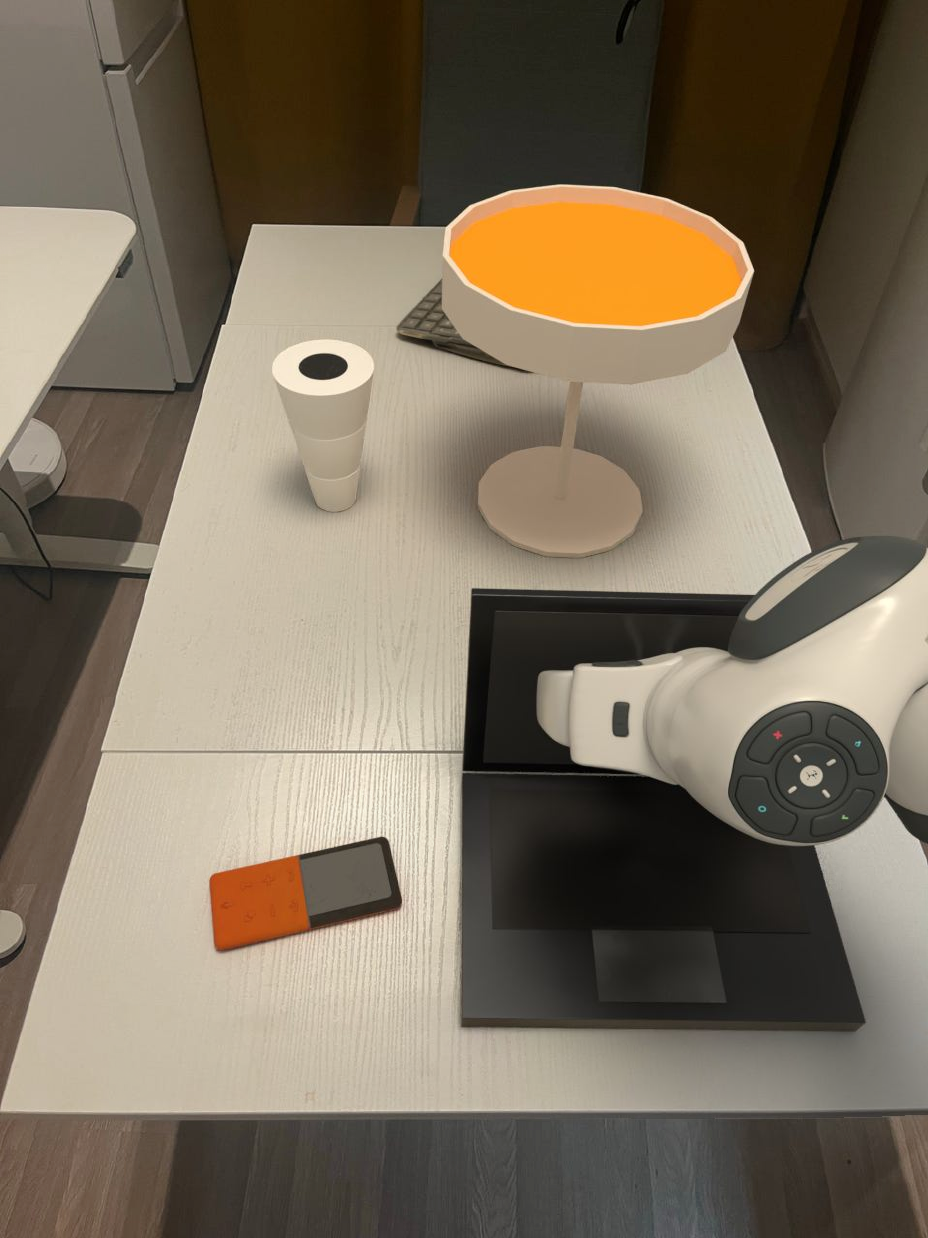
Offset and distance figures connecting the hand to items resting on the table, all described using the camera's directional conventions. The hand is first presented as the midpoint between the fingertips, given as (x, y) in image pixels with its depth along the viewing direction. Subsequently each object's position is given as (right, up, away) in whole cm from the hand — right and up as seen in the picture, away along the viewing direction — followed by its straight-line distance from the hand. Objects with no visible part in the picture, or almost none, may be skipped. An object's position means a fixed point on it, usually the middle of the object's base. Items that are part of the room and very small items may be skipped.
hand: (656, 689), depth 70 cm
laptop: (-8, +53, +68) cm, 87 cm away
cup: (-31, +20, +37) cm, 52 cm away
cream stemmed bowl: (-4, +20, +38) cm, 43 cm away
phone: (-28, -17, +3) cm, 33 cm away
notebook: (0, -18, +4) cm, 18 cm away
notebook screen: (0, -1, +2) cm, 2 cm away
